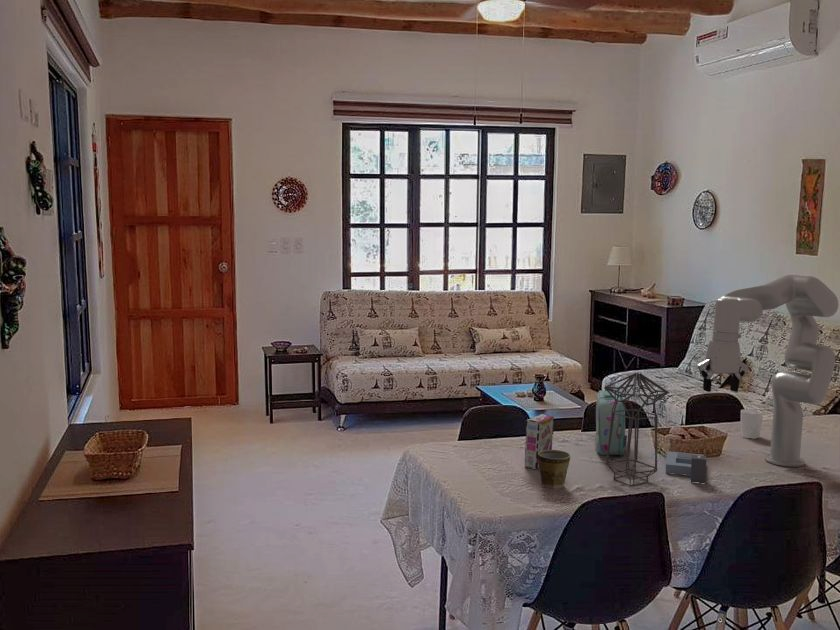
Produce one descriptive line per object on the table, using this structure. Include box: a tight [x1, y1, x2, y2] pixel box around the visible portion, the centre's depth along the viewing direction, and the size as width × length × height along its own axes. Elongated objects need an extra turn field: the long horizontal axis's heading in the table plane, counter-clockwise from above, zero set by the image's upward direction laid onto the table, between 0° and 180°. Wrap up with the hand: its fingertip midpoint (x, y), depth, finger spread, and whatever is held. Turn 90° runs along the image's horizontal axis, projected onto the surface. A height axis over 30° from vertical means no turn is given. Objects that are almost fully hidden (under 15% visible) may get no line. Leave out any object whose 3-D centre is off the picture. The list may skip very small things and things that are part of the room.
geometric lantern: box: [603, 372, 670, 487], centre depth 259 cm, size 16×16×35 cm
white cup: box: [740, 408, 764, 440], centre depth 314 cm, size 8×8×10 cm
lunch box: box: [594, 389, 628, 456], centre depth 294 cm, size 27×10×21 cm, turn 170°
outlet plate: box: [664, 451, 705, 476], centre depth 274 cm, size 16×12×3 cm
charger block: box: [689, 454, 708, 484], centre depth 260 cm, size 4×4×8 cm
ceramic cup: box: [538, 449, 571, 489], centre depth 255 cm, size 13×10×10 cm
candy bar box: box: [524, 413, 555, 470], centre depth 274 cm, size 11×5×16 cm, turn 145°
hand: (720, 391), depth 258 cm, fingers open, 9 cm apart
